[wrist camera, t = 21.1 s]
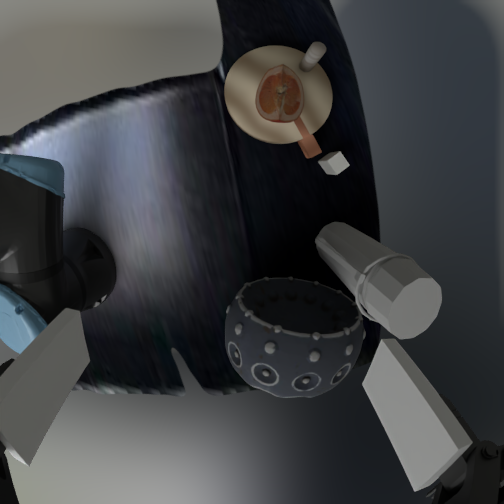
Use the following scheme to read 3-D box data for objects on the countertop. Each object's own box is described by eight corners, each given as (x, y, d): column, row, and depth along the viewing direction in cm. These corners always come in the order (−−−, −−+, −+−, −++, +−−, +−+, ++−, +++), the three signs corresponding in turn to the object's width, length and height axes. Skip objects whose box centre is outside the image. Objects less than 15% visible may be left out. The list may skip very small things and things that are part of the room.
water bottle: (360, 227, 45) (456, 282, 21) (343, 268, 47) (420, 350, 23) (314, 208, 44) (393, 254, 20) (297, 252, 46) (352, 337, 22)
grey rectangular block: (317, 161, 42) (327, 160, 37) (329, 152, 41) (340, 151, 37) (326, 173, 42) (337, 174, 38) (338, 165, 42) (349, 165, 37)
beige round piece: (295, 176, 41) (312, 179, 32) (203, 99, 37) (193, 80, 28) (358, 109, 38) (387, 96, 29) (271, 35, 34) (279, 5, 25)
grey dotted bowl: (230, 267, 46) (225, 335, 27) (343, 277, 48) (396, 339, 29) (224, 322, 49) (219, 404, 30) (329, 329, 51) (367, 401, 32)
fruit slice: (258, 72, 34) (260, 60, 29) (303, 78, 35) (311, 67, 30) (252, 124, 37) (253, 117, 32) (299, 130, 37) (306, 124, 32)
